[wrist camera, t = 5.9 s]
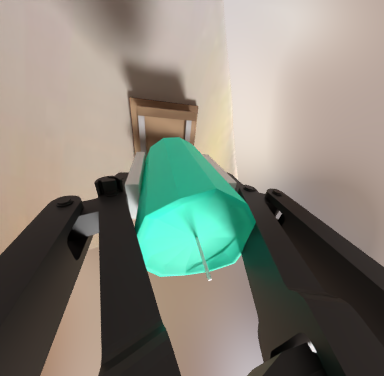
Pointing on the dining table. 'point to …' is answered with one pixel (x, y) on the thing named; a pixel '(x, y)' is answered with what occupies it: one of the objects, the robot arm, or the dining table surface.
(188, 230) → the candle
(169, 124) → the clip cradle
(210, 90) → the dining table surface
